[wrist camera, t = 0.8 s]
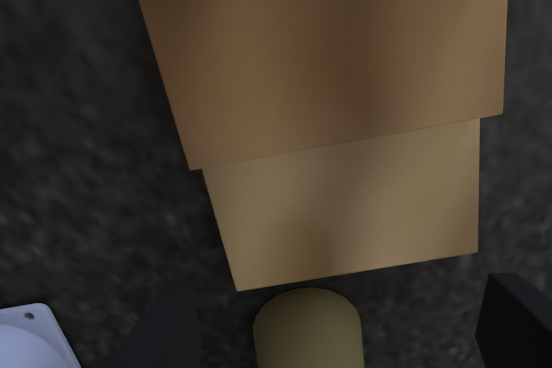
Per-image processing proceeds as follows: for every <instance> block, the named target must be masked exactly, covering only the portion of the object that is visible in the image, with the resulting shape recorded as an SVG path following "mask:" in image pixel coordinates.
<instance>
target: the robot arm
mask: <svg viewBox="0 0 552 368" xmlns="http://www.w3.org/2000/svg"><path fill="white" fill-rule="evenodd" d="M29 313H31V314H33V315H31V314H29ZM475 337H476V340H477V343H478V346H479V349H480V352H481V355H482V358H483V361H484V363H485V366H486V368H552V300H551V299H550V298H549V297H547V296H546V295H545V294H543V293H542V292H541V291H539V290H538V289H537V288H535V287H534V286H533V285H531V284H530V283H528V282H527V281H526V280H524V279H523V278H521V277H520V276H518V275H517V274H515V273H491V274H489V276H488V280H487V284H486V289H485V293H484V298H483V302H482V306H481V311H480V315H479V320H478V324H477V328H476V333H475ZM201 344H202V343H201V336H200V330H199V323H198V317H197V310H196V304H195V297H194V291H193V284H192V283H167V284H166V285H165V286H164V287H163V289H162V290H161V291H160V293H159V294H158V296H157V297H156V298H155V300H154V301H153V303H152V304H151V305H150V307H149V308H148V309H147V311H146V312H145V313H144V315H143V316H142V317H141V319H140V320H139V321H138V323H137V324H136V325H135V327H134V328H133V329H132V330H131V332H130V333H129V334H128V335H127V337H126V338H125V339H124V340H123V342H122V343H121V344H120V345H119V347H118V348H117V349H116V350H115V351H114V353H113V354H112V355H111V356H110V357H109V358H108V359H107V361H106V362H105V363H104V364H103V365H102V366H101V367H100V368H199V363H200V354H201ZM0 368H81V366H80V364H79V362H78V360H77V359H76V357H75V355H74V353H73V351H72V349H71V347H70V345H69V344H68V342H67V340H66V338H65V336H64V334H63V332H62V330H61V329H60V327H59V325H58V323H57V321H56V319H55V317H54V315H53V314H52V312H51V310H50V308H49V307H48V306H47V305H45V304H42V303H35V304H29V305H23V306H17V307H11V308H5V309H0Z"/></svg>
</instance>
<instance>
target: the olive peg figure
mask: <svg viewBox="0 0 552 368" xmlns="http://www.w3.org/2000/svg"><path fill="white" fill-rule="evenodd" d="M253 335H254V342H255V349H256V356H257V363H258V368H364V359H363V346H362V334H361V321H360V318H359V315H358V313H357V311H356V308H355V307H354V306H353V305H352V304H351V303H350V302H349V301H348V300H347V299H346V298H345V297H343V296H341V295H339V294H337V293H335V292H333V291H330V290H325V289H320V288H314V287H311V288H298V289H293V290H290V291H287V292H284V293H281V294H278V295H277V296H275V297H274V298H272V299H271V300H270V301H268V302H267V303H265V304H264V306H263V307H262V308H261V310H260V311H259V312H258V313H257V315H256V317H255V321H254V324H253Z"/></svg>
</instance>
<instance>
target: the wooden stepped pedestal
mask: <svg viewBox="0 0 552 368" xmlns="http://www.w3.org/2000/svg"><path fill="white" fill-rule="evenodd" d="M138 1H139V4H140V8H141V11H142V14H143V18H144V21H145V24H146V28H147V31H148V34H149V38H150V41H151V44H152V48H153V51H154V54H155V57H156V61H157V64H158V67H159V71H160V74H161V77H162V81H163V84H164V87H165V91H166V94H167V97H168V101H169V104H170V107H171V111H172V114H173V117H174V121H175V124H176V127H177V131H178V134H179V137H180V141H181V144H182V147H183V151H184V154H185V157H186V161H187V164H188V167H189V170H197V169H202V172H203V176H204V179H205V183H206V186H207V190H208V193H209V197H210V200H211V204H212V207H213V211H214V214H215V218H216V221H217V225H218V228H219V232H220V235H221V239H222V242H223V246H224V249H225V253H226V256H227V260H228V263H229V267H230V270H231V274H232V277H233V280H234V284H235V287H236V290H237V291H244V290H250V289H256V288H262V287H268V286H274V285H281V284H287V283H293V282H299V281H305V280H311V279H317V278H324V277H330V276H336V275H342V274H348V273H354V272H360V271H366V270H373V269H379V268H385V267H391V266H397V265H403V264H409V263H416V262H422V261H428V260H434V259H440V258H446V257H452V256H459V255H465V254H471V253H476V252H478V198H479V137H480V118H485V117H490V116H496V115H501V114H502V113H503V94H504V69H505V44H506V19H507V0H138Z"/></svg>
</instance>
